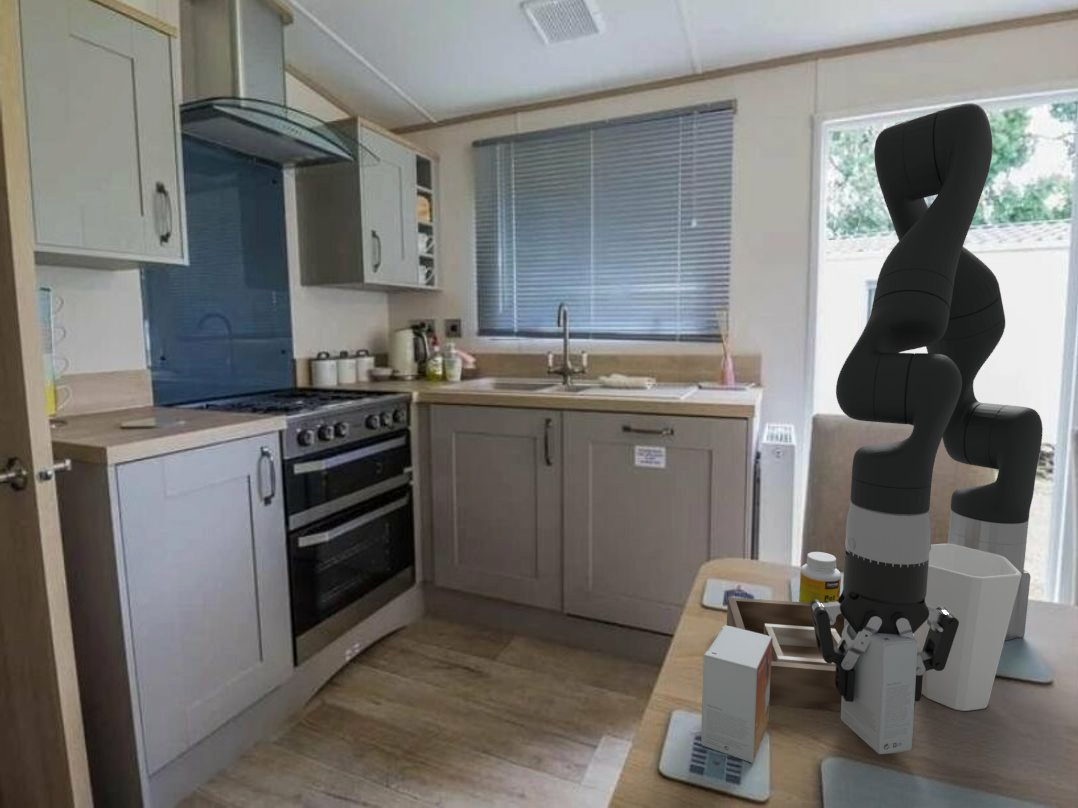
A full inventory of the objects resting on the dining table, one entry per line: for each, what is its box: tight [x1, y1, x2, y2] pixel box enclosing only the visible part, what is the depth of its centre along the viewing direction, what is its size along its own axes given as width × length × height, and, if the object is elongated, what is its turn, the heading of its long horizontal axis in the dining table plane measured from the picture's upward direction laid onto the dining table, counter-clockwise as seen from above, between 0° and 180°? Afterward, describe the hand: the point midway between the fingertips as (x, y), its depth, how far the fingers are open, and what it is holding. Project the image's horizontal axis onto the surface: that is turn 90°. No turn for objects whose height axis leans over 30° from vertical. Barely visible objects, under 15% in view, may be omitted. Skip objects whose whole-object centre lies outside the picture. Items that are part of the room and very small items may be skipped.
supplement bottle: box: [798, 551, 842, 603], centre depth 93 cm, size 6×6×10 cm
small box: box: [700, 624, 773, 764], centre depth 67 cm, size 8×6×10 cm
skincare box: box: [840, 619, 918, 755], centre depth 65 cm, size 6×4×12 cm
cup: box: [913, 543, 1022, 712], centre depth 74 cm, size 11×10×17 cm
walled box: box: [726, 596, 845, 713], centre depth 81 cm, size 18×18×5 cm
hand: (876, 699), depth 66 cm, fingers closed on skincare box, 5 cm apart
